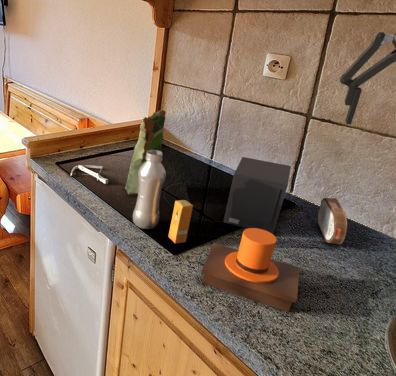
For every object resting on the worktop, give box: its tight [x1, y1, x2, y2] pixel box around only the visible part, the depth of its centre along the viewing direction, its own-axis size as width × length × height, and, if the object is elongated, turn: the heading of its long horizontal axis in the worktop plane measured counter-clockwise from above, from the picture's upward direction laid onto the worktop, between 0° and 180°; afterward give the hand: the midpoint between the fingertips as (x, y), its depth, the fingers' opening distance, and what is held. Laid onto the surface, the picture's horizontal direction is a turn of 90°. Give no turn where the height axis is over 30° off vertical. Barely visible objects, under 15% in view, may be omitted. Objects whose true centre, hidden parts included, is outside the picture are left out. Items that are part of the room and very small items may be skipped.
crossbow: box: [70, 164, 109, 185], centre depth 132 cm, size 16×13×2 cm
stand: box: [201, 242, 300, 313], centre depth 83 cm, size 17×11×4 cm, turn 60°
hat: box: [225, 228, 279, 283], centre depth 80 cm, size 10×10×8 cm
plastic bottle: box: [132, 150, 167, 230], centre depth 99 cm, size 6×7×20 cm
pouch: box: [124, 109, 167, 196], centre depth 116 cm, size 11×12×25 cm
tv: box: [223, 156, 292, 235], centre depth 106 cm, size 12×14×14 cm
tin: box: [317, 197, 348, 246], centre depth 100 cm, size 15×3×8 cm, turn 161°
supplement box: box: [168, 199, 194, 244], centre depth 96 cm, size 3×3×10 cm
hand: (391, 128), depth 75 cm, fingers open, 13 cm apart
